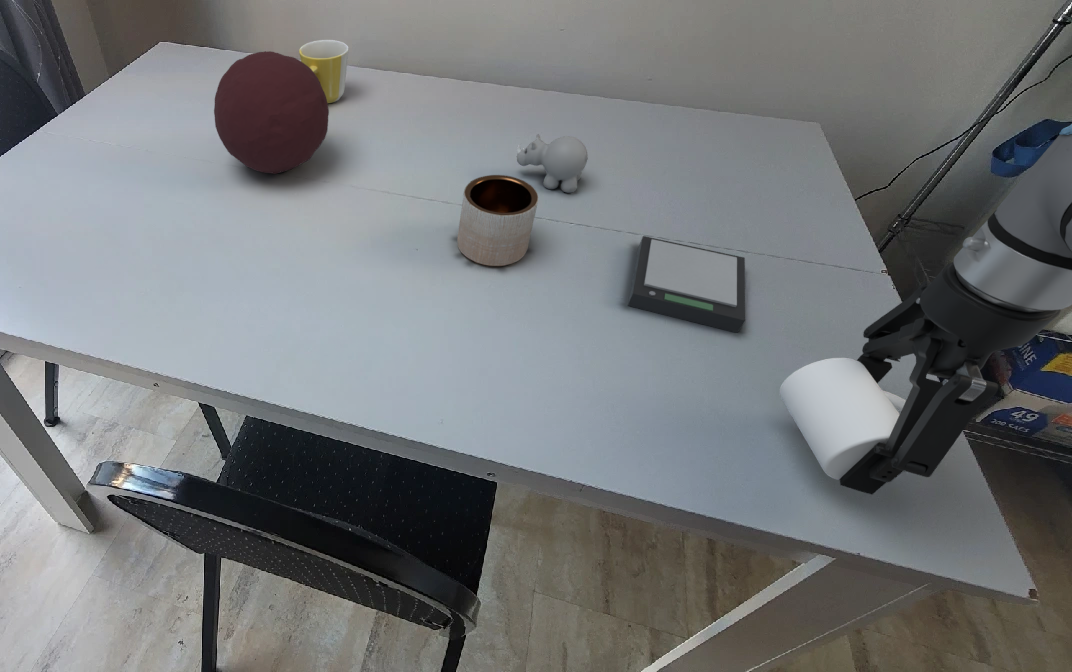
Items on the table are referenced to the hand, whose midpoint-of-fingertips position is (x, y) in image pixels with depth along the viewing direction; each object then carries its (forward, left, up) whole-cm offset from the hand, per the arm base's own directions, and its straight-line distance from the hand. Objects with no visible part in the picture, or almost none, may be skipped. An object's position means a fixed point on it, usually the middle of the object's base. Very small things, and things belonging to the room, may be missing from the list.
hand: (847, 441), depth 63 cm
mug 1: (+59, +91, -4) cm, 109 cm away
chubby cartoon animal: (+45, +40, -4) cm, 61 cm away
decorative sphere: (+32, +87, -4) cm, 93 cm away
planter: (+23, +44, -4) cm, 50 cm away
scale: (+24, +16, -4) cm, 29 cm away
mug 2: (0, 0, -1) cm, 1 cm away
